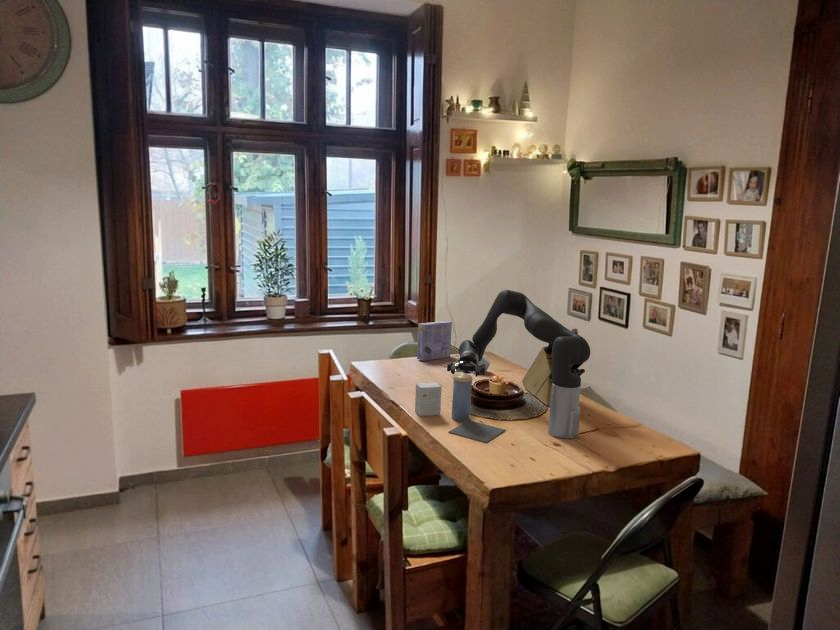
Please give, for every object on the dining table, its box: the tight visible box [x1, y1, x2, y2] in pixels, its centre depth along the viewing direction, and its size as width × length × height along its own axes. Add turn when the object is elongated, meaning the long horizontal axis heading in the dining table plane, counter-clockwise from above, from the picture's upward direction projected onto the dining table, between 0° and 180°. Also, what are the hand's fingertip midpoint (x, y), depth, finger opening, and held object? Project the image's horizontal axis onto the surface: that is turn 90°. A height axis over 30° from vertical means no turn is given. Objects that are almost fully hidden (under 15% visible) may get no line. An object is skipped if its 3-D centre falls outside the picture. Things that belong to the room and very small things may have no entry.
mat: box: [448, 419, 507, 444], centre depth 209 cm, size 14×14×1 cm
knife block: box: [522, 327, 586, 407], centre depth 245 cm, size 11×35×31 cm, turn 12°
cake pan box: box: [416, 320, 453, 362], centre depth 303 cm, size 19×5×18 cm, turn 130°
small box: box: [414, 381, 442, 417], centre depth 225 cm, size 8×6×10 cm
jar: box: [451, 373, 473, 422], centre depth 220 cm, size 7×7×15 cm
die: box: [478, 354, 491, 374], centre depth 282 cm, size 8×9×10 cm
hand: (464, 373), depth 230 cm, fingers open, 8 cm apart
